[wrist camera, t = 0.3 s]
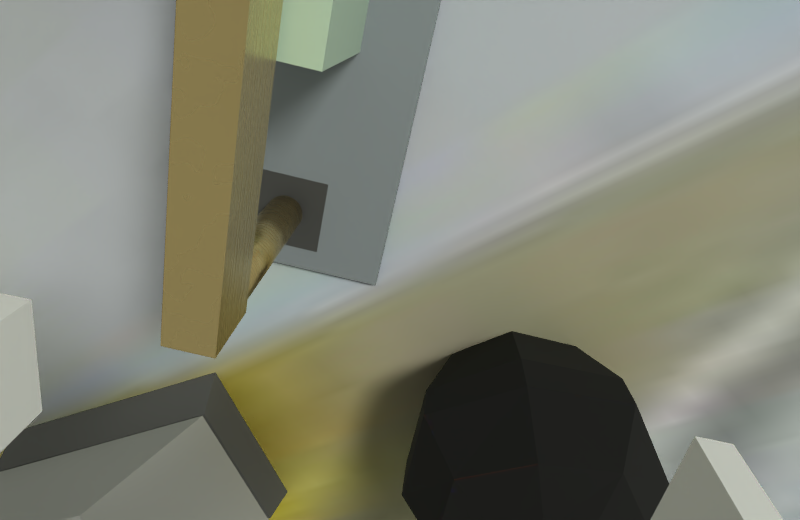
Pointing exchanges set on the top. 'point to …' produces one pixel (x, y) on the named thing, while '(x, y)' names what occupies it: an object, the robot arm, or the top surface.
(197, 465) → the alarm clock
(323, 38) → the pale green block
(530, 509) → the bottle
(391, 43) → the plate
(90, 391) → the top surface
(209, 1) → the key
